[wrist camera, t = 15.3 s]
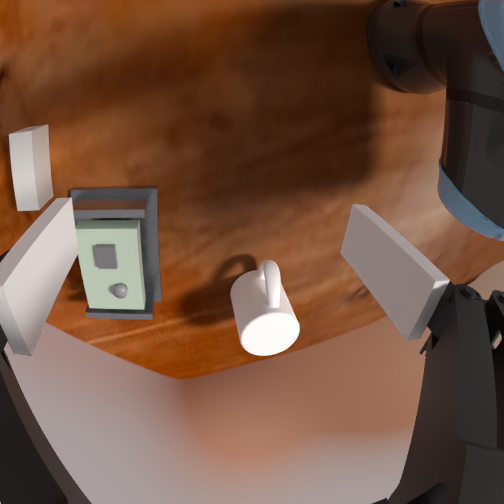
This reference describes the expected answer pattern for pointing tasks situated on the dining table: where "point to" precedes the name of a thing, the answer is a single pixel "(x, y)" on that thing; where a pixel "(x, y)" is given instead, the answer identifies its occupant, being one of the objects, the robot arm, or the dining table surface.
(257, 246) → the dining table surface
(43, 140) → the stand
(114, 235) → the board
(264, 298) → the mug
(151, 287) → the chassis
